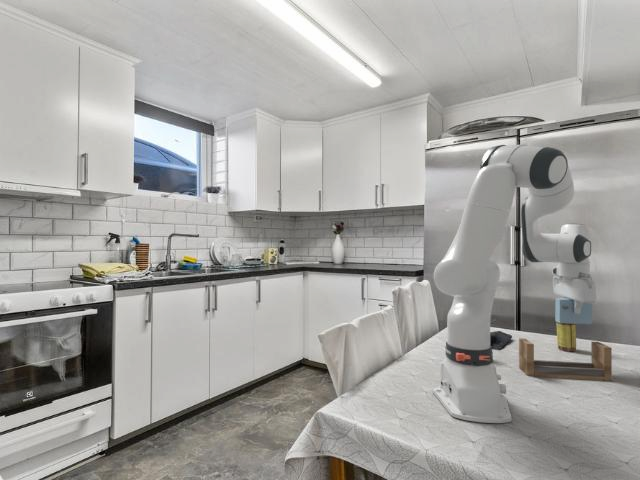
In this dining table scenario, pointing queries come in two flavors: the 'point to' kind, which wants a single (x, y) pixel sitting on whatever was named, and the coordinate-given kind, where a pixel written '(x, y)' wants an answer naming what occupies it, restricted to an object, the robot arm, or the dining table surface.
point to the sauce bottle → (566, 336)
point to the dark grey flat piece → (499, 339)
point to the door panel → (572, 312)
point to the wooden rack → (567, 364)
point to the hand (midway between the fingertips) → (572, 312)
